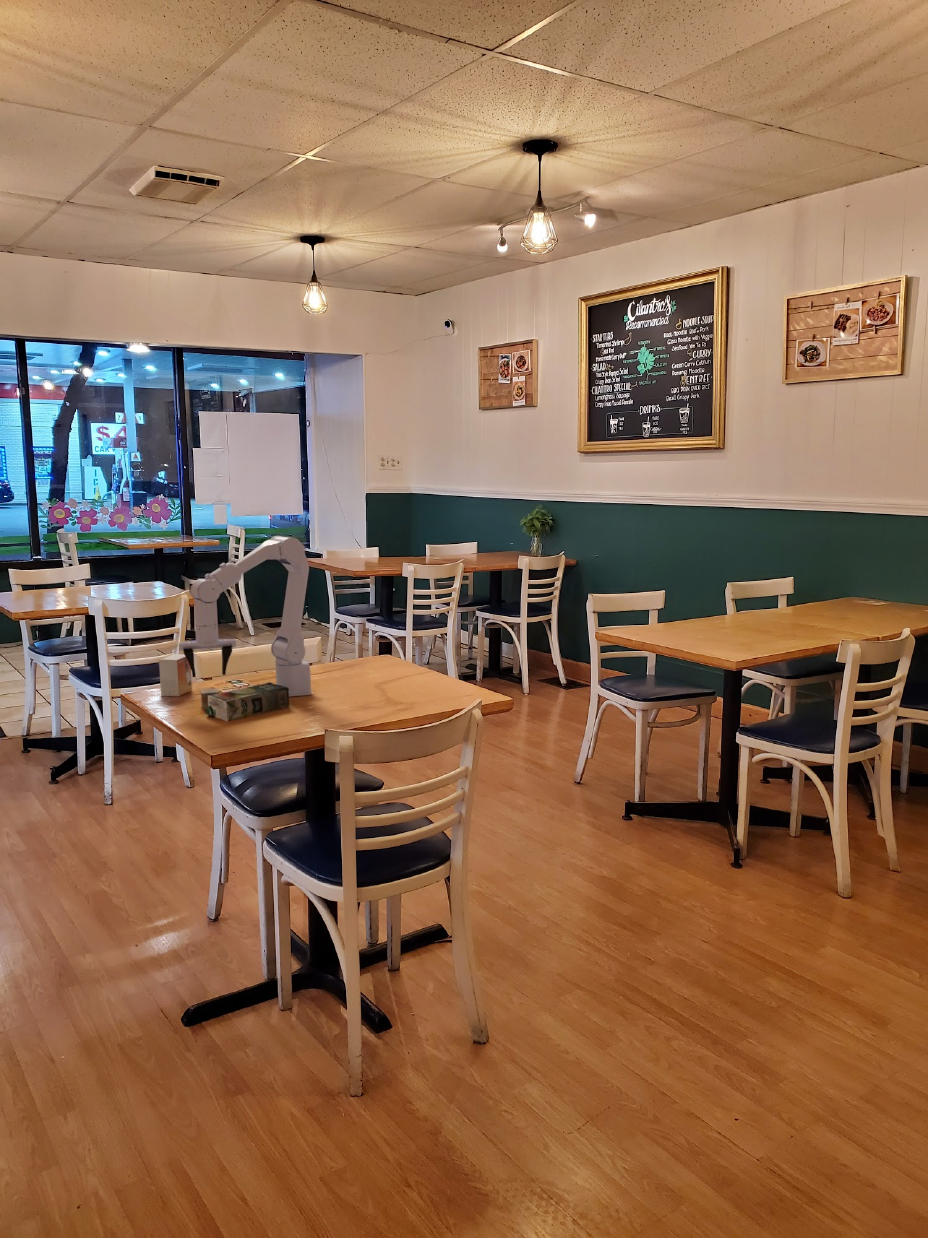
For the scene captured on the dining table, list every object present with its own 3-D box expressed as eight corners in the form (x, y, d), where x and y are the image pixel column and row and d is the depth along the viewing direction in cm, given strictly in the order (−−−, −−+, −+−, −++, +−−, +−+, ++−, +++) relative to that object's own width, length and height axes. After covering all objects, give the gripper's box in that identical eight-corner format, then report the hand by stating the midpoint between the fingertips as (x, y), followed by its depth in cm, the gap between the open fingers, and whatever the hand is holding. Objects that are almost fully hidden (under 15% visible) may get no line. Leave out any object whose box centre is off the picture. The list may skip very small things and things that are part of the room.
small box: (178, 697, 260) (176, 660, 258) (160, 696, 261) (158, 659, 259) (192, 690, 267) (190, 654, 266) (174, 689, 268) (172, 653, 267)
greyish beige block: (218, 704, 252) (218, 688, 251) (220, 708, 247) (219, 692, 247) (201, 706, 250) (200, 689, 249) (202, 710, 246) (201, 693, 245)
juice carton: (224, 723, 234) (223, 699, 233) (203, 716, 240) (202, 693, 240) (290, 709, 248) (289, 686, 247) (269, 703, 255) (268, 681, 254)
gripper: (178, 628, 239) (181, 680, 241) (236, 625, 244) (238, 676, 246) (177, 624, 246) (180, 674, 248) (233, 621, 250) (235, 670, 252)
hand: (209, 675), depth 247 cm, fingers open, 7 cm apart
